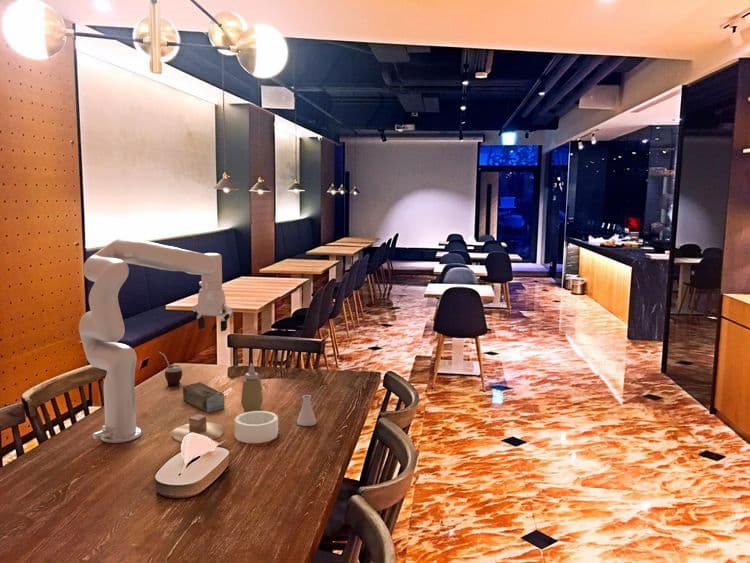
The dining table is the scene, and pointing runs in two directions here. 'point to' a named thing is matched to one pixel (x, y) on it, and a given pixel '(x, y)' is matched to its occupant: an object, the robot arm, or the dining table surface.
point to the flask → (306, 413)
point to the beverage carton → (203, 397)
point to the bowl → (256, 427)
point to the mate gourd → (172, 374)
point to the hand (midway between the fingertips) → (212, 329)
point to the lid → (198, 428)
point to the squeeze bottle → (251, 391)
